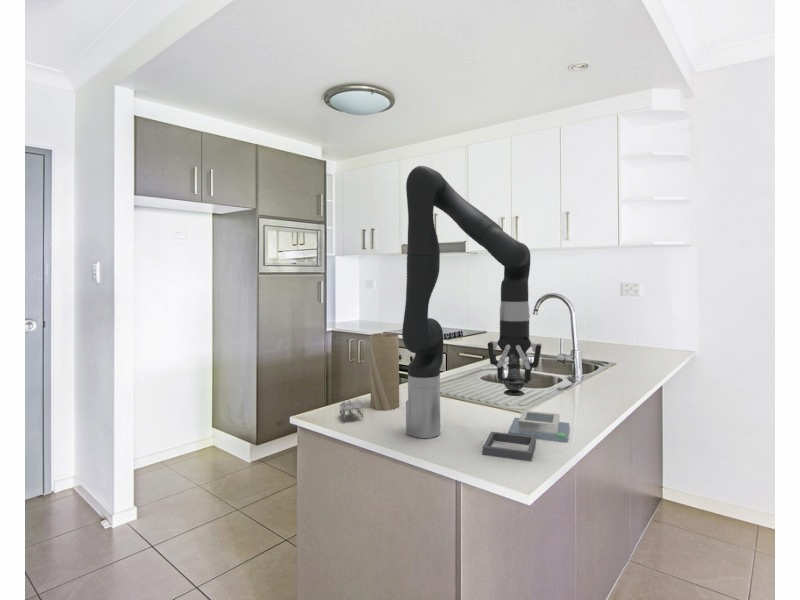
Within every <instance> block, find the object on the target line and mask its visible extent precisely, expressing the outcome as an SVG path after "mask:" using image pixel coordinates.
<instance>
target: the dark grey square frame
mask: <svg viewBox="0 0 800 600" xmlns="http://www.w3.org/2000/svg"><path fill="white" fill-rule="evenodd" d="M495 441H497V442H505V443H514V444H522V445H529V446H528V447H527V450H520V449H513V448H506V447H499V446H498V447H497V446H492V445H493V444H494V442H495ZM536 445H537V439H536V437H534V436H525V435H516V434H508V432H507V433H506V432H500V431H499V432H495V431H490V433H489V435H488V437H487V438H486V440H485V442H484V444H483V445H482V455H483V456H489V457H490V456H491V457H498V458H499V457H500V458H506V459H514V460H520V461H529V462H532V460H533V456H534V452H535V448H536Z"/></svg>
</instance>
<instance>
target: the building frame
mask: <svg viewBox="0 0 800 600" xmlns="http://www.w3.org/2000/svg"><path fill="white" fill-rule="evenodd" d="M339 408H340V409H339V415H340V418H341V419H342V420H346V412H348V414H349V415H350V417H352V422H353V421H355V418H356V417H355V413H354V410H355V411H356V413H358V414H359V416H360V418H364V414H363V412H362V411H361V410H363V406H362V401H361V400H359V401H358V400H355V401H351V399H349V398H348V401H347V402H346V401H344V399H342V402H340V403H339ZM343 417H344V418H343Z"/></svg>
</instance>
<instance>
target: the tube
mask: <svg viewBox="0 0 800 600" xmlns="http://www.w3.org/2000/svg"><path fill="white" fill-rule="evenodd" d="M399 348H400V345H399V334H398V333H394V332H393V333H392V332H378V333H371V334H369V371H370V372H369V376H370V378H369V379H370V380H369V381H370V383H369V385H370V408H371V409H372V410H377V411H392V409H393V410H396V408H397V409H399V407H400V359H399V358H400V357H399V356H400V353H399Z"/></svg>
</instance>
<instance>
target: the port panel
mask: <svg viewBox="0 0 800 600" xmlns="http://www.w3.org/2000/svg"><path fill="white" fill-rule="evenodd" d="M560 414H561V413H555V412H554V413H553V412H544V411H535V410H534V411H532V410H522V413H521V414H520V416H519V417H514V418H513V420H512V423H511V424H510V426H509V428H508V432H507V433H508V434H516V435H525V436H534V437H536V440H544V441H552V442H561V443H562V442H563V443H568V442H569V434H570V433H569V432H570V423H569V422H563V421H561V419H560V416H561V415H560Z"/></svg>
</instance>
